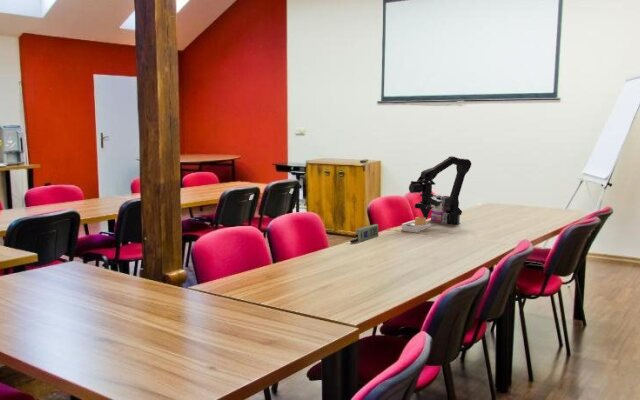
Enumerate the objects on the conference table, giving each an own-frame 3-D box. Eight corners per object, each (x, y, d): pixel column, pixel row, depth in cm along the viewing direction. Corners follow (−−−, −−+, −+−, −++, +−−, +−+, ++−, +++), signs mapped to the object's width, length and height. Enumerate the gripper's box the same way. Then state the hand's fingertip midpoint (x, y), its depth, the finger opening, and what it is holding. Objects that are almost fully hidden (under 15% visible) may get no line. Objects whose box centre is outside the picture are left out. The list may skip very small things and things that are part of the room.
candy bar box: (448, 222, 354) (449, 195, 352) (441, 223, 352) (442, 196, 350) (437, 220, 364) (437, 193, 362) (430, 220, 362) (431, 194, 360)
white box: (431, 227, 338) (431, 221, 337) (417, 232, 324) (417, 226, 323) (415, 225, 344) (415, 219, 343) (401, 230, 330) (401, 224, 329)
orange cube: (425, 224, 337) (425, 217, 337) (422, 225, 334) (422, 218, 333) (418, 223, 340) (418, 216, 339) (414, 224, 336) (415, 217, 336)
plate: (435, 225, 345) (435, 224, 345) (430, 227, 340) (430, 226, 339) (424, 224, 349) (424, 223, 349) (419, 225, 344) (419, 225, 344)
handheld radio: (379, 236, 313) (354, 244, 293) (374, 236, 315) (348, 243, 295) (379, 224, 312) (354, 231, 292) (373, 223, 314) (348, 230, 294)
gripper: (432, 195, 328) (431, 222, 330) (446, 191, 343) (445, 218, 345) (414, 193, 334) (413, 220, 337) (429, 190, 349) (428, 216, 352)
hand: (425, 219), depth 342 cm, fingers closed
